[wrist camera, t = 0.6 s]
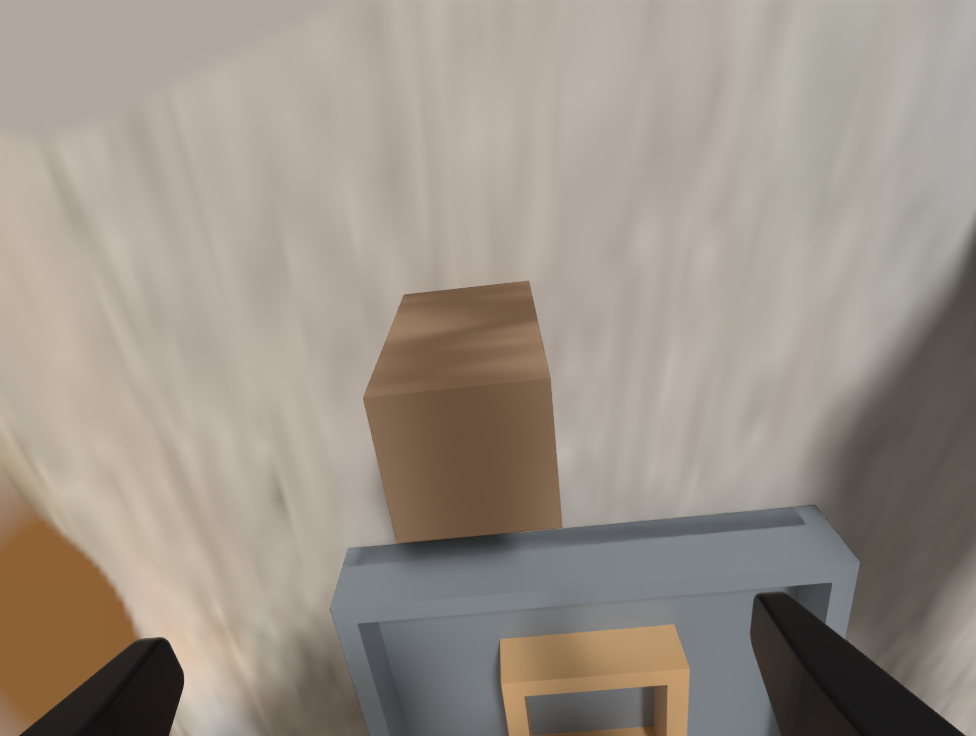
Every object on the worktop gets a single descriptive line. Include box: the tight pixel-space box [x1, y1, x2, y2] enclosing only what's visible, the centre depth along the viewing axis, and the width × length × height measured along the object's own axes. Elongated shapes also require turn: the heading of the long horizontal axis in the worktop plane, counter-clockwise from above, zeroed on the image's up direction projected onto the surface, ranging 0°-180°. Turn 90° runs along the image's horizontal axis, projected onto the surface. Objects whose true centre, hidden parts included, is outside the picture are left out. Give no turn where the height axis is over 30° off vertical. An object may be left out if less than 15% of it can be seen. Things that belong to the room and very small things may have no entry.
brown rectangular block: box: [363, 281, 562, 543], centre depth 17 cm, size 4×4×7 cm
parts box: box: [330, 505, 860, 736], centre depth 25 cm, size 18×16×3 cm
